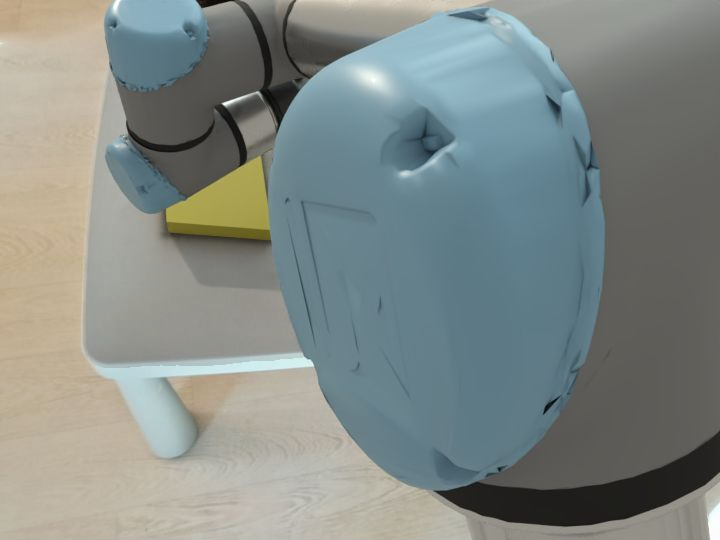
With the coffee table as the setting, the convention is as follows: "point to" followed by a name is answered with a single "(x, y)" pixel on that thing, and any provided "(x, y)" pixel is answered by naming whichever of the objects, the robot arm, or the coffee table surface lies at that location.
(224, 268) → the coffee table surface
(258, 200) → the yellow rectangular slab
